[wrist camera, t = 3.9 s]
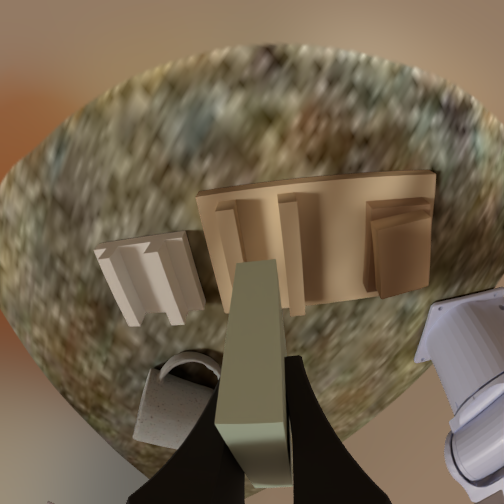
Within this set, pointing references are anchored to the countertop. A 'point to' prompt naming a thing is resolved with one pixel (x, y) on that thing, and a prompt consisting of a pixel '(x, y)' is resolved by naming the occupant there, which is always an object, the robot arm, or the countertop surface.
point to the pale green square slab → (256, 378)
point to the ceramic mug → (172, 403)
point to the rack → (302, 231)
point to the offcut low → (380, 211)
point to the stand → (152, 276)
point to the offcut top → (401, 252)
